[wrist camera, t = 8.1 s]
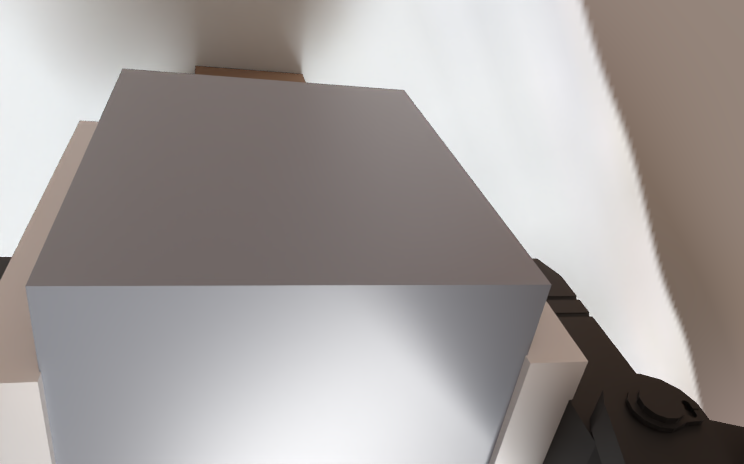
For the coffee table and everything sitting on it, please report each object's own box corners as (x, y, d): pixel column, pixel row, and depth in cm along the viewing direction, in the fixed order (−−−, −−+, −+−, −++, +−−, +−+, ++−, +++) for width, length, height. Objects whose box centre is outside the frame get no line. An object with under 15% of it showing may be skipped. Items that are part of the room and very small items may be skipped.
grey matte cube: (122, 68, 11) (25, 287, 6) (403, 89, 12) (551, 284, 7) (135, 305, 14) (78, 613, 8) (367, 302, 15) (454, 569, 9)
